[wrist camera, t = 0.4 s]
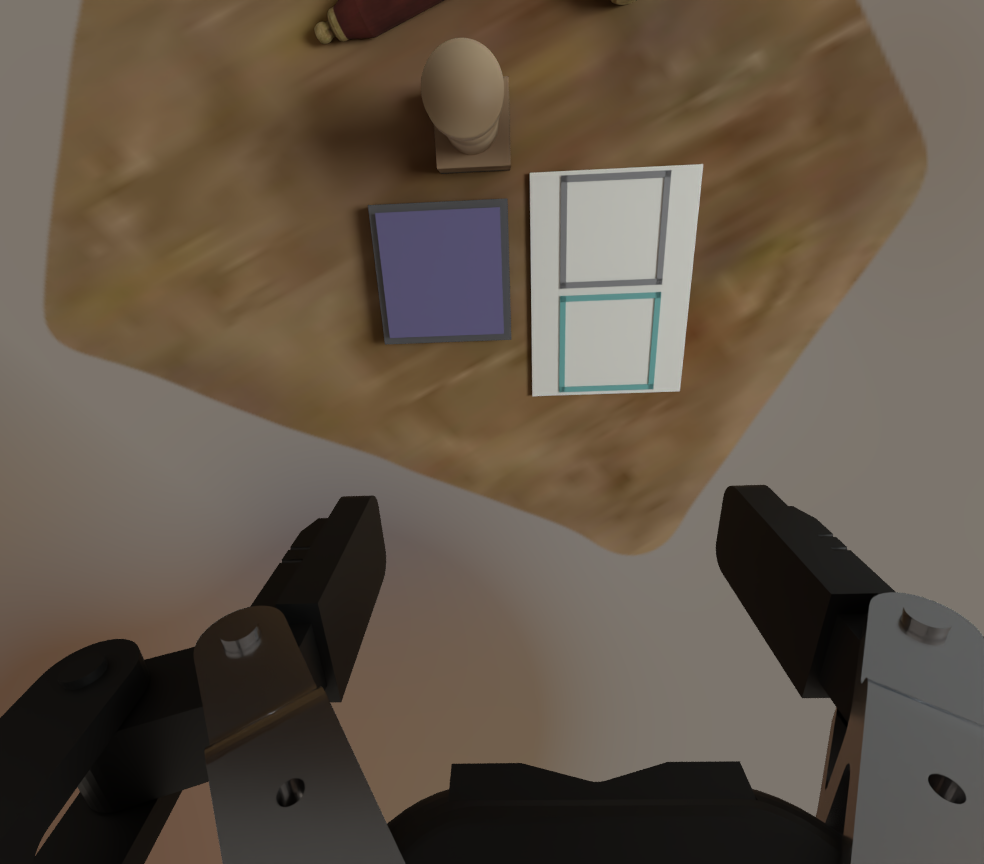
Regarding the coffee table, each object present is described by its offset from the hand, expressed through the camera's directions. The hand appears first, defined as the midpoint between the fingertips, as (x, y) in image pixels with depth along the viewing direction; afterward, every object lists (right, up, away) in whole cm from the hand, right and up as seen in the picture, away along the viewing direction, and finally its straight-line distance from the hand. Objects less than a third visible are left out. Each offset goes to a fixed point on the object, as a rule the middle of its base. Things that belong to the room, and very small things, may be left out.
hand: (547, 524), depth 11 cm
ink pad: (-5, +13, +22) cm, 26 cm away
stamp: (-2, +21, +19) cm, 29 cm away
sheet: (+7, +12, +23) cm, 27 cm away
